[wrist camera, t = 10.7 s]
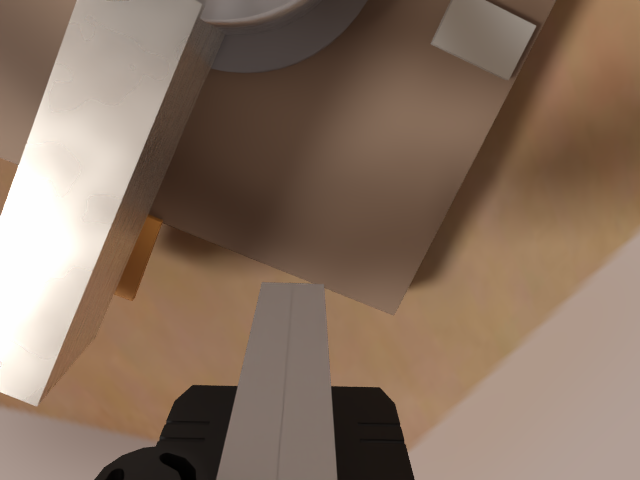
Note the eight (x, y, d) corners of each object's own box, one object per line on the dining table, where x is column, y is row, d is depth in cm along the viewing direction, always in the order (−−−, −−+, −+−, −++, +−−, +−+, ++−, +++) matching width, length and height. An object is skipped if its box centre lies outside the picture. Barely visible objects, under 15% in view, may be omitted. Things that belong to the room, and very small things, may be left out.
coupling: (161, -324, 13) (99, -497, 9) (409, -169, 14) (448, -266, 10) (-43, 279, 17) (-145, 335, 13) (159, 363, 18) (119, 438, 14)
